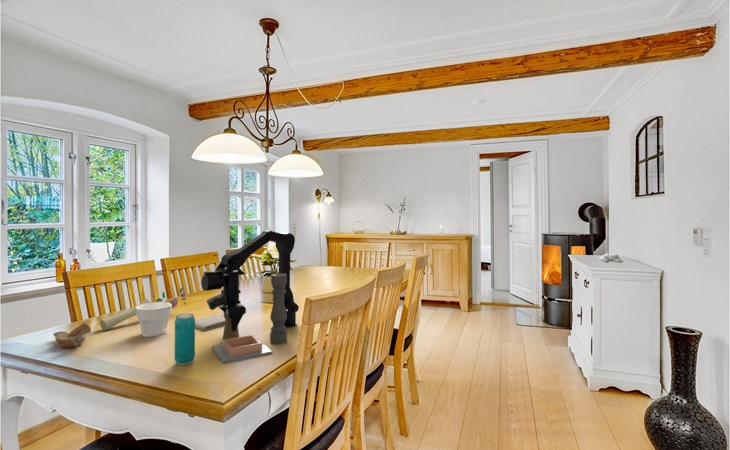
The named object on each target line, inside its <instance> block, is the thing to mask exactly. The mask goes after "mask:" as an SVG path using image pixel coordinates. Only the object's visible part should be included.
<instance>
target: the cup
mask: <svg viewBox="0 0 730 450" xmlns="http://www.w3.org/2000/svg"><path fill="white" fill-rule="evenodd" d="M138 305H139V304H138ZM136 306H137V305H136ZM172 309H173V308H172V304H171V303H170V302H169V301H168V302H167V301H161V302H156V301H155V302H150V303H147V304H142V305H139V306H137V307H136V313H137V315H136V317H137V320H138V323H139V327H140V331H141V332H140V333H141V336H142V337H145V338H152V337H153V338H154V337H159V336H163V335H165V334H166V333H167V330H168V329H167V328H168V323H169V318H170V316H171V315H172Z"/></svg>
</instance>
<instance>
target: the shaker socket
mask: <svg viewBox="0 0 730 450" xmlns="http://www.w3.org/2000/svg"><path fill="white" fill-rule="evenodd" d="M221 341H222V343H221V344H217V345H215V344H214V345H212V350H213V352H214V353H215V354H216V355H217V357H218V358H219V360H220V361H221V363H222V364H227V363H232V362H238V361H243V360H249V359H253V358H257V357H263V356H269V355H272V354H273V351H272V350H271V349H270V348H269V347H268V346H267V345H266V344H265V343H264V342H263V341H261V340H260V339H259V338H257V337H256V336H255V335H253V334H249V335H242V336H239V337H236V338H230V339H224V340H223V339H222V340H221Z"/></svg>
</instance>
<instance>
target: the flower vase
mask: <svg viewBox="0 0 730 450" xmlns="http://www.w3.org/2000/svg"><path fill="white" fill-rule="evenodd" d="M183 289H184V288H183V287H180V289H179V288H177V290H178V293H177V294H178V296H177V297H173V298H171V299H170V300H166V302H168V303H171V304H172V308H171V309H175V308H176V307H177V306H178V303H179V300H177V299H178V298H180V297H181V303H183V304H184V305H185V306H187V303H186V302H185V301H186V300H187V298H185V297H187V294H186V292H185V291H183ZM180 293H181V294H180ZM165 298H166V295H165V292H164V291H162V298H160V297H159V298H157V299H156V300H155V302H163V301H164V299H165ZM182 301H183V302H182ZM147 303H151V302H150V300H149V299H148V298H146V299H145V300H143V301H142V302H141V303H139V304H137V305H136V306H134V307H131V308H129V309H126V310H124V311H121V312H118V313H116V314H112V315H110V316H107V317H103V318H100V319H99V322H98V323H99V326H100V327H101V329H102V330H103V331H107V330H109V329H111V328H113V327H115V326H117V325H118V324H120V323H122V322H124V321H127V320H128V319H130V318H133V317H135V316H137V313H136V307H137V306H139V305H142V304H147Z"/></svg>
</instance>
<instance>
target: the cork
mask: <svg viewBox="0 0 730 450" xmlns="http://www.w3.org/2000/svg"><path fill="white" fill-rule="evenodd" d="M223 313H224V318H225V325H224V326H223V335H222V340H224V339H230V338H236V337H240V332H239V325H238V326H237V329H236V331H232V327H231V321H230V317H228V316H227V315H226V314H227V313H226V311H225V312H223Z"/></svg>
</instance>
